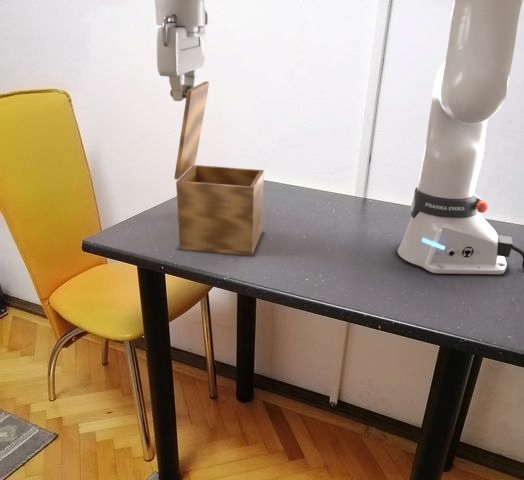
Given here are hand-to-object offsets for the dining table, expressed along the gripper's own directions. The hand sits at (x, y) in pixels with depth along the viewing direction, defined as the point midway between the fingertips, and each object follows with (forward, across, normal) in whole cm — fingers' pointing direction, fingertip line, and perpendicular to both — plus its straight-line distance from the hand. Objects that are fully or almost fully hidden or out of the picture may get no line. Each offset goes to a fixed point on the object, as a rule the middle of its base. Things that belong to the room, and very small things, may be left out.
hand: (183, 97), depth 104 cm
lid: (+6, 0, -2) cm, 6 cm away
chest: (+29, 0, -8) cm, 30 cm away
